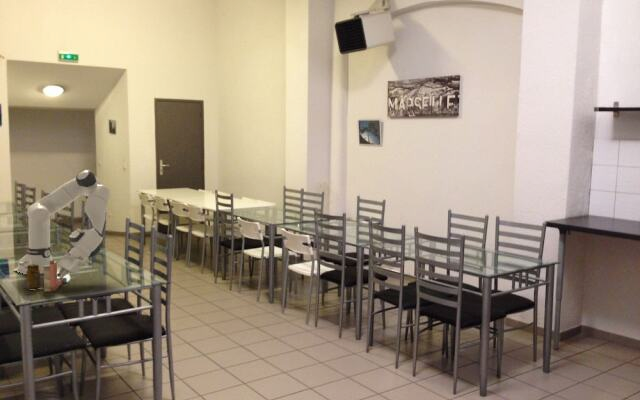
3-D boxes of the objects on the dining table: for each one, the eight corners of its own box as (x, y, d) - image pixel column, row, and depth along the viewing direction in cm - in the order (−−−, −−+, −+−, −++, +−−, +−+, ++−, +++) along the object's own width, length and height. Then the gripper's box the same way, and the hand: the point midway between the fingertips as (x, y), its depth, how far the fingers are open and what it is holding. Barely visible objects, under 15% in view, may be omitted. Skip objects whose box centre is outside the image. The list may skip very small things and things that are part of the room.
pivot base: (54, 282, 306) (54, 277, 306) (61, 280, 310) (61, 275, 310) (61, 284, 304) (61, 278, 304) (68, 281, 309) (68, 276, 308)
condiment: (38, 285, 300) (37, 263, 299) (44, 288, 294) (44, 265, 293) (23, 288, 295) (22, 265, 293) (29, 291, 289) (29, 268, 288)
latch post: (45, 289, 293) (44, 264, 292) (53, 289, 294) (52, 264, 292) (43, 291, 290) (42, 266, 288) (51, 291, 290) (50, 266, 289)
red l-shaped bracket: (58, 283, 304) (57, 254, 302) (62, 283, 304) (61, 254, 303) (50, 291, 288) (49, 261, 287) (54, 291, 289) (53, 261, 287)
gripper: (89, 262, 292) (70, 284, 286) (75, 256, 307) (57, 276, 302) (80, 255, 288) (60, 277, 283) (66, 249, 304) (48, 269, 298)
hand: (59, 277), depth 293 cm, fingers closed
